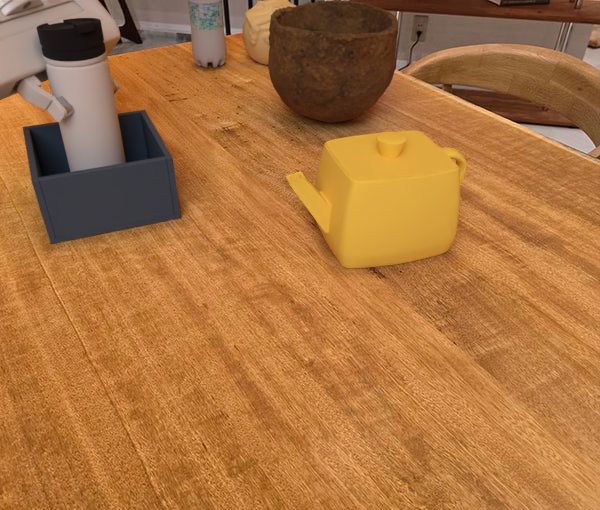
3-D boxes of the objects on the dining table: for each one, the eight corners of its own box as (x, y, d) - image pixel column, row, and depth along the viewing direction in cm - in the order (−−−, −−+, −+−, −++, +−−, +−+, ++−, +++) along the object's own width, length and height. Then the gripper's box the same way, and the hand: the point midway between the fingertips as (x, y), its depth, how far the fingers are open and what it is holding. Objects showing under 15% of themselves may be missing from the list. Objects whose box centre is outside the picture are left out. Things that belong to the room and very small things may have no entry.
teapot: (302, 283, 59) (304, 177, 52) (272, 220, 68) (270, 122, 61) (479, 253, 64) (505, 152, 56) (429, 198, 73) (445, 104, 65)
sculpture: (250, 72, 107) (248, 8, 100) (238, 52, 116) (235, -8, 109) (311, 68, 110) (312, 4, 103) (294, 48, 118) (295, -11, 112)
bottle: (233, 60, 112) (226, -62, 100) (220, 71, 107) (211, -56, 95) (200, 57, 114) (189, -64, 101) (186, 68, 109) (172, -58, 96)
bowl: (346, 155, 82) (354, 42, 72) (244, 121, 90) (239, 16, 81) (412, 114, 93) (426, 12, 84) (316, 87, 102) (319, -8, 92)
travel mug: (97, 216, 67) (56, 30, 54) (67, 196, 71) (21, 16, 58) (143, 197, 71) (115, 18, 58) (112, 178, 74) (78, 5, 61)
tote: (50, 244, 64) (31, 181, 59) (39, 184, 74) (22, 126, 69) (181, 218, 68) (173, 157, 64) (153, 165, 79) (144, 109, 74)
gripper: (-88, -8, 51) (30, 122, 54) (73, -44, 65) (159, 59, 68) (-103, 40, 55) (8, 158, 58) (52, -4, 69) (134, 92, 73)
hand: (91, 104), depth 63 cm, fingers closed on travel mug, 6 cm apart
